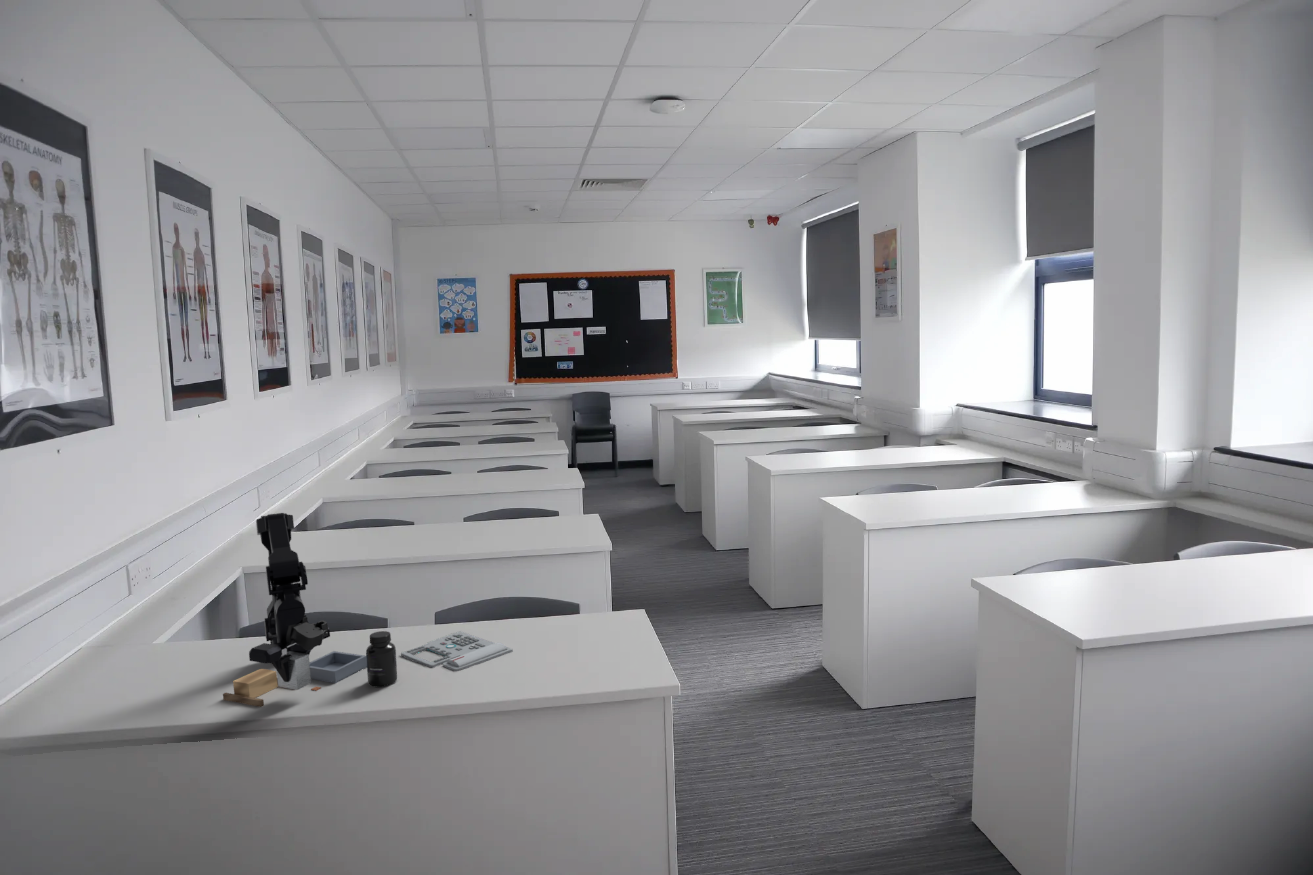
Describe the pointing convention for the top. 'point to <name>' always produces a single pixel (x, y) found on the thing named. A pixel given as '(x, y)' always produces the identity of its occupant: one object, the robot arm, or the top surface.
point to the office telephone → (459, 651)
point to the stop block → (297, 671)
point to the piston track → (249, 698)
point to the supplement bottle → (381, 660)
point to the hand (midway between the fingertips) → (294, 678)
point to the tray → (336, 666)
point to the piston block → (256, 683)
